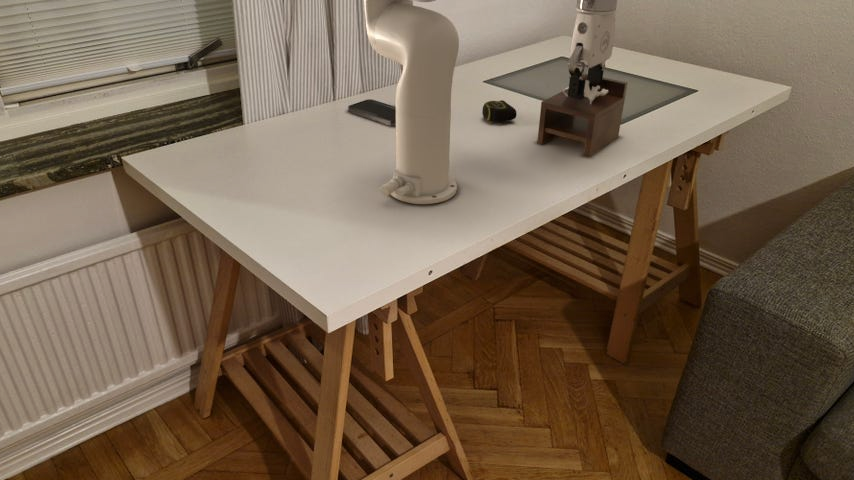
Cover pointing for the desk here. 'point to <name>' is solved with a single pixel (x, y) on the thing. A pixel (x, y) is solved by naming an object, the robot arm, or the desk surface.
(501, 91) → the desk surface
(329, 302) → the desk surface
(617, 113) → the shelf
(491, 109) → the tape measure
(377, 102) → the phone
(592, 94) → the pelvis model
